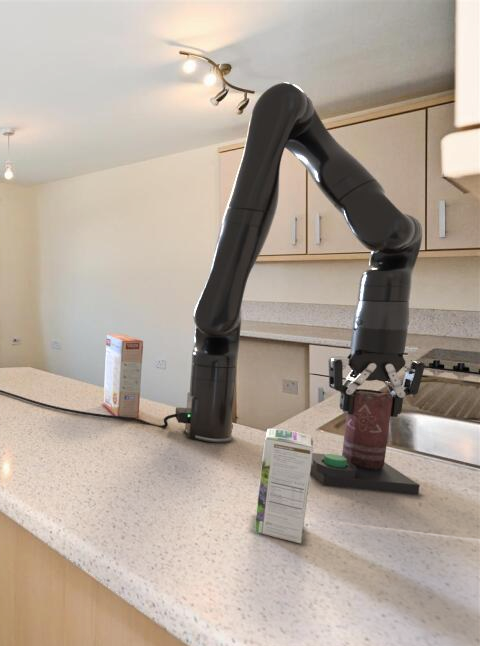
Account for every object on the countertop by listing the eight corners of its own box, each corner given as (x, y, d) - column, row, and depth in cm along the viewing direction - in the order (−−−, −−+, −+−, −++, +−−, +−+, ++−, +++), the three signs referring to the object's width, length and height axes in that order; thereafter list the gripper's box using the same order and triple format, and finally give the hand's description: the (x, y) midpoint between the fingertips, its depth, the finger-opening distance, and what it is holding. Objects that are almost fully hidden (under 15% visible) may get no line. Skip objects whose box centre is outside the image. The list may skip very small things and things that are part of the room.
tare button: (328, 467, 84) (329, 459, 83) (320, 460, 87) (321, 452, 86) (349, 469, 83) (350, 461, 83) (340, 462, 86) (341, 454, 86)
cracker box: (140, 419, 123) (144, 340, 120) (117, 419, 123) (120, 340, 120) (123, 404, 136) (126, 333, 134) (102, 404, 136) (105, 333, 134)
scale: (320, 486, 83) (322, 467, 83) (293, 460, 95) (294, 443, 95) (420, 496, 79) (423, 477, 79) (378, 468, 91) (380, 450, 91)
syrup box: (256, 516, 73) (264, 426, 71) (303, 527, 70) (313, 434, 68) (254, 532, 68) (262, 437, 66) (303, 545, 65) (314, 445, 63)
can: (393, 471, 85) (403, 396, 83) (353, 469, 86) (362, 395, 84) (371, 459, 91) (380, 388, 89) (334, 456, 92) (342, 387, 90)
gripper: (414, 324, 86) (403, 411, 89) (323, 322, 90) (315, 406, 93) (442, 328, 79) (429, 423, 82) (343, 326, 83) (333, 417, 85)
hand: (368, 414), depth 87 cm, fingers closed on can, 6 cm apart
